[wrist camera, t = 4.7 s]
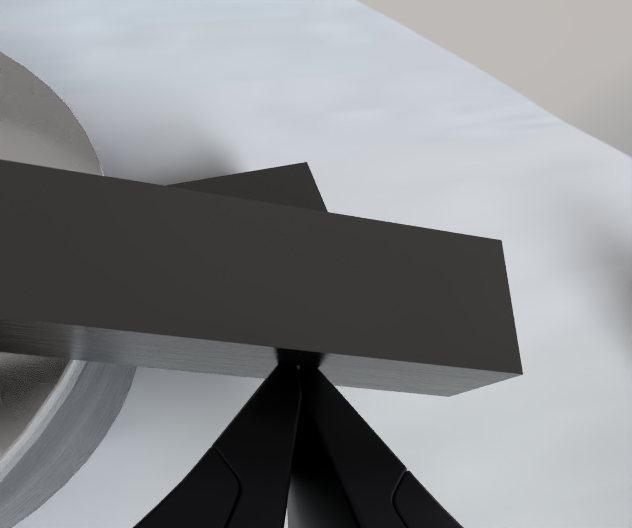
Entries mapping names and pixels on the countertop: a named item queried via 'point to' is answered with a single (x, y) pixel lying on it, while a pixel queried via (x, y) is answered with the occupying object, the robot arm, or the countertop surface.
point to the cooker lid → (217, 282)
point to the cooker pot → (124, 366)
